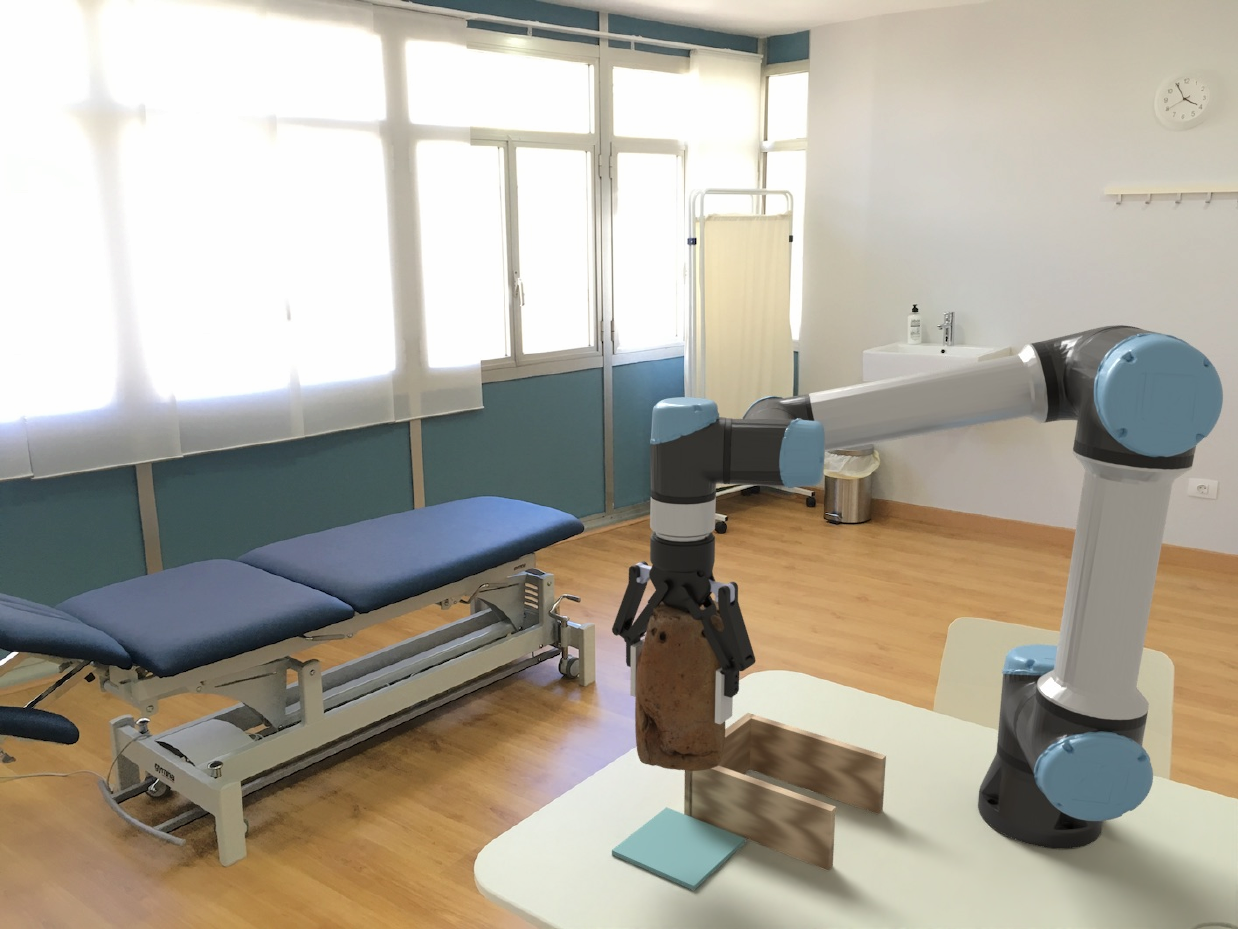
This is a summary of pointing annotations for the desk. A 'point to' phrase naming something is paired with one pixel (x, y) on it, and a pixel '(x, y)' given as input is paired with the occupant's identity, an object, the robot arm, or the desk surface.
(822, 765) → the wooden u-shaped enclosure
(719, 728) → the brown pitted rock
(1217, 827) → the desk surface
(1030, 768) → the robot arm
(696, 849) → the mat
